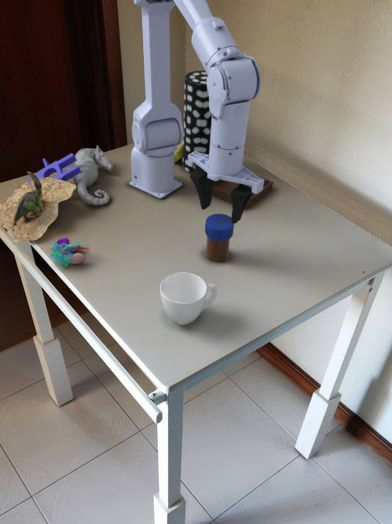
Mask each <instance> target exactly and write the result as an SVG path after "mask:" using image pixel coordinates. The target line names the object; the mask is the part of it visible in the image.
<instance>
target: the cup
mask: <svg viewBox="0 0 392 524" xmlns="http://www.w3.org/2000/svg"><path fill="white" fill-rule="evenodd" d="M210 290H211V292H210V295H209V296H208V291H210ZM217 296H218V289H217V287H216V285H215V284H214V283H206V281H205V280H204V279H203V278H202V277H200V276H199V275H197V274H195V273H191V272H185V271H184V272H182V271H180V272H175V273H172V274H169V275H167V276H166V277H164V278H163V279H162V280H161V281H160V284H159V299H160V305H161V307H162V310H163V312H164V313H165V315H166V316H167V318H168V319H169V320H170V321H171V322H172V323H174V324H176V325H178V326H187V325H190V324H192V323H193V322H194V321H195V320H197V318H199V317H200V315H202V312H203V310H204V309H206V308H208V307H209V306H210V305H212V303H213V302H214V301H215V299H216V298H217Z"/></svg>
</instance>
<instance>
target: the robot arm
mask: <svg viewBox="0 0 392 524" xmlns="http://www.w3.org/2000/svg"><path fill="white" fill-rule="evenodd" d="M133 4H134V5H136V6H138V7H141V26H142V27H141V29H142V42H143V43H142V47H143V67H144V68H143V69H144V70H143V71H144V87H145V88H144V91H145V92H144V93H145V100H144V101H142V103H141V104H140V105H139V106H137V108H135V110H133V112H132V113H133V115H132V126H131V135H132V141H133V143H134V146H133V148H132V150H131V154H130V169H131V181H129V185H130V186H131V187H134V188H136V189H139V190H140V191H143V192H145V193H146V194H149V195H150V196H153V197H156V198H158V199H160V200H161V199H163V198H165V197H167V196H168V195H169V194H172V192H174V191H176V190H178V189H179V188H180V187H182V186H183V183H182V182H181V181H179V180H176V179H175V162H174V158H175V151H176V150H178V145H180V144H181V143H182V141H183V137H184V123H183V119H182V112H181V109H179V108H178V106H177V105H176V104H174V103H173V102H172V101H171V43H170V42H171V38H170V34H171V32H170V30H171V29H170V28H171V27H170V13H171V11H172V10H173V8H174V7H175V6H176V7H177V9H178V10H179V11H180V13H181V15H182V17H184V20H185V21H186V22H187V24H188V26H189V27H190V29H191V30H192V35H191V45H192V48H193V51H194V52H195V53H196V56H197V57H198V60H199V62H200V63H201V65H202V67H203V69H204V71H206V73H207V75H208V77H207V90H208V94H209V108H210V112H211V113H212V122H211V137H210V152H209V155H207V154H202V153H199V152H196V151H194V152H192V153H191V154H189V155H188V166H191V167H193V166H195V169H194V171H193V172H189V173H190V174H189V178H190V180H191V181H192V184H193V185H194V187H195V190H196V192H197V196H198V199H199V204H200V209H201V210H202V211H203V210H204V211H205V210H206V209H207V208H209V207H211V204H212V200H213V195H212V189H213V183H214V181H218V180H225V181H230V182H234V183H237V184H239V185H238V187H236V188H235V189H234V190H232V191H231V197H232V203H231V207H232V208H231V216H230V217H231V222H232V223H234V225H235V224H237V223H239V221H241V220H242V216H243V214H244V211H245V210H246V209H245V207H246V205H247V203H248V201H249V200H250V198H251V197H252V195H253V194H258V193H259V192H261V191H262V190H263V185H264V179H262V178H260V177H261V176H260V177H258V176H259V175H258V174H256V173H254V172H252V171H251V170H250V169H248V168H247V167H246V166H245V165H243V162H244V155H245V149H246V148H245V146H246V140H247V130H248V123H249V115H250V107H251V100H252V101H253V100H255V99H256V98H257V97H258V95H259V93H260V89H261V84H262V83H261V82H262V80H261V77H262V76H261V71H260V67H259V66H258V63H257V60H256V59H255V57H253V56H250V55H247V53H246V52H241V51H240V49H239V47H238V46H237V43H236V41H235V40H234V38H233V36H232V33H230V30H229V28H228V27H227V25H226V23H225V21H224V19H222V18H221V17H217V16H213V14H212V11H211V9H210V6H209V4H208V2H207V0H133ZM257 175H258V176H257Z"/></svg>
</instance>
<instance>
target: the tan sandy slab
mask: <svg viewBox="0 0 392 524" xmlns="http://www.w3.org/2000/svg"><path fill="white" fill-rule="evenodd" d="M26 174H27V175H28V176H29V177H30V179H32V180H33V181H30V182H27V181H25V182H23V183H22V184H20V185H19V186H17V187H16V188H15V189H14V190H13V192H12V194H11V195H9V197H8V198H7V199H6V200H5V201H4V202H3V204H2V205H1V206H0V227H2V228H3V229H5V230H7V231H8V232H10V233H11V234H13V235H15V237H16V238H14V239H13V240H12V242H13V243H19V242H31V241H37V240H38V239H40V238H42V237H43V236H44V234H45V233H46V231H47V229H48V227H49V226H50V225H51V224H52V223H53V222H54V221H56V219H57V217H58V215H59V203H60V202H63V201H64V202H65V201H66V200H68V199H70V198H71V197H72V195H73V192H74V191H75V190H76V189H77V186H76V185H75V183H74V184H73V183H70V181H67V182H65V181H62V180H59V179H55V177H53V176H49V177H46V178H41V179H38V178H37V177H36V176H37V175H36V174H35V173H33V172H31V171H26Z"/></svg>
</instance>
